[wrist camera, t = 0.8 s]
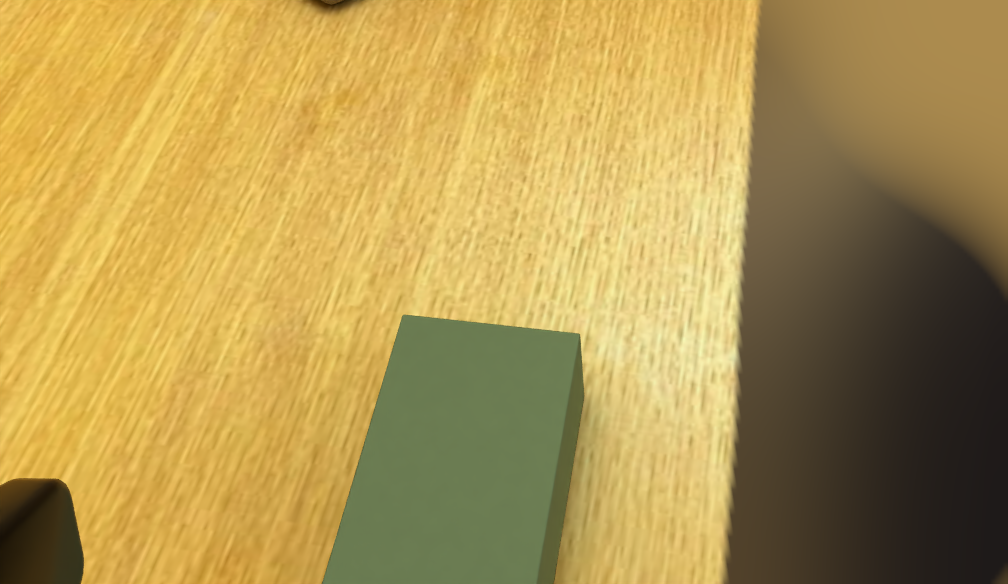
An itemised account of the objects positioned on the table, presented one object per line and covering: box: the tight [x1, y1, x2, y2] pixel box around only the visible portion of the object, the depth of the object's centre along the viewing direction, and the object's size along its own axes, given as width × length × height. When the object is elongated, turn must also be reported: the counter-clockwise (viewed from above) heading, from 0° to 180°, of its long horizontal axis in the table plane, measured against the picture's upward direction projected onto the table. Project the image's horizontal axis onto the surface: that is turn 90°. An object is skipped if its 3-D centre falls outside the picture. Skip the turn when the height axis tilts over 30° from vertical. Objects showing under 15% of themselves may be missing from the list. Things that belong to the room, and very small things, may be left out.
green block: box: [322, 315, 584, 584], centre depth 25 cm, size 9×5×4 cm, turn 169°
